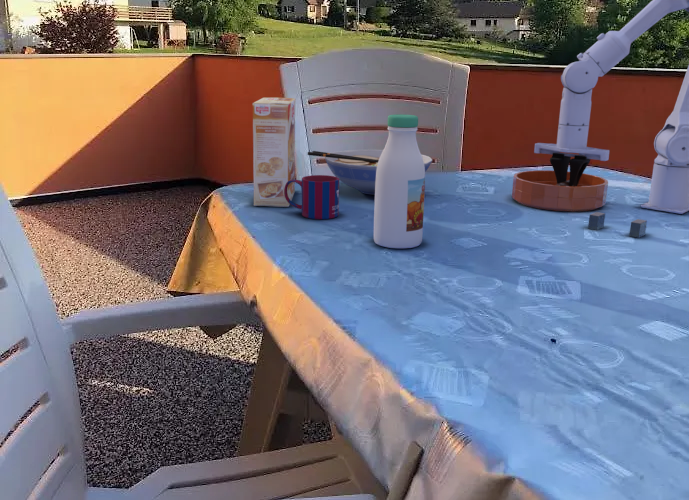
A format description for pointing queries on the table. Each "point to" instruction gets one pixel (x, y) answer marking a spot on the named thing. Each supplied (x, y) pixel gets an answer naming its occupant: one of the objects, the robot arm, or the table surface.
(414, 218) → the milk bottle
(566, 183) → the brown rod
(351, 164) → the ramen bowl
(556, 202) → the bowl
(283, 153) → the coffeecake box
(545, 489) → the table surface
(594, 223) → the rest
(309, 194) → the mug
